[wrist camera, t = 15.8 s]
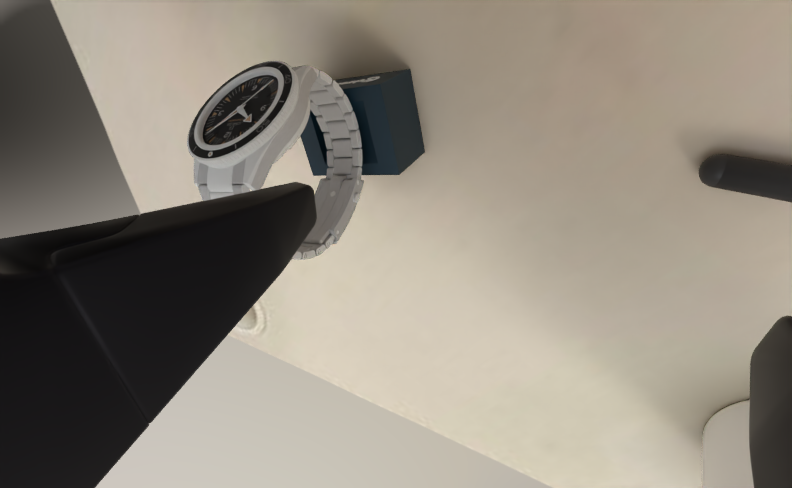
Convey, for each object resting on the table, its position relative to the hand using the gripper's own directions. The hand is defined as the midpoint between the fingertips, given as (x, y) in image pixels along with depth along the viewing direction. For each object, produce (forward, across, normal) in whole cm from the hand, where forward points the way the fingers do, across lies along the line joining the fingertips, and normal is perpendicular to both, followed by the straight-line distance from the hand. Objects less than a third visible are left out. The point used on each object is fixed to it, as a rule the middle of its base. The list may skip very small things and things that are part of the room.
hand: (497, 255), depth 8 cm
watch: (+13, +10, +3) cm, 17 cm away
